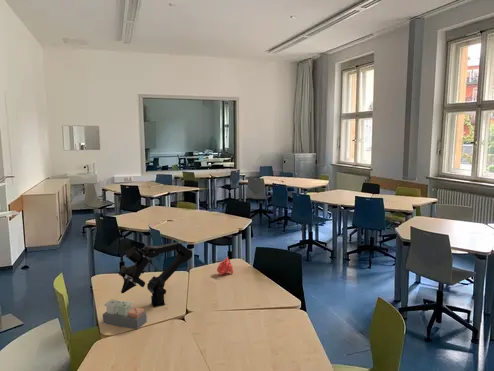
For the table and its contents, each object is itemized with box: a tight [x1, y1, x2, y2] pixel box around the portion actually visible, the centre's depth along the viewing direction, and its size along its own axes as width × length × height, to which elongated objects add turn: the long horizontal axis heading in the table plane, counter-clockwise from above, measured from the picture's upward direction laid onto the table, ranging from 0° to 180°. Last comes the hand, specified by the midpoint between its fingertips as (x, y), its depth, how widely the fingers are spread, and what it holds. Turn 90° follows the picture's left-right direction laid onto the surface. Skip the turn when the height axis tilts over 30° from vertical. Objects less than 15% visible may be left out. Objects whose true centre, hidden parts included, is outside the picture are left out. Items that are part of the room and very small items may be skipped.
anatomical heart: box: [216, 256, 234, 276], centre depth 257 cm, size 9×12×12 cm
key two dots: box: [116, 300, 133, 316], centre depth 192 cm, size 6×6×7 cm
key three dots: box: [128, 307, 145, 318], centre depth 190 cm, size 6×6×7 cm
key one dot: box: [104, 299, 122, 314], centre depth 194 cm, size 6×6×7 cm
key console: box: [102, 311, 148, 330], centre depth 192 cm, size 8×21×5 cm, turn 71°
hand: (121, 292), depth 196 cm, fingers closed
